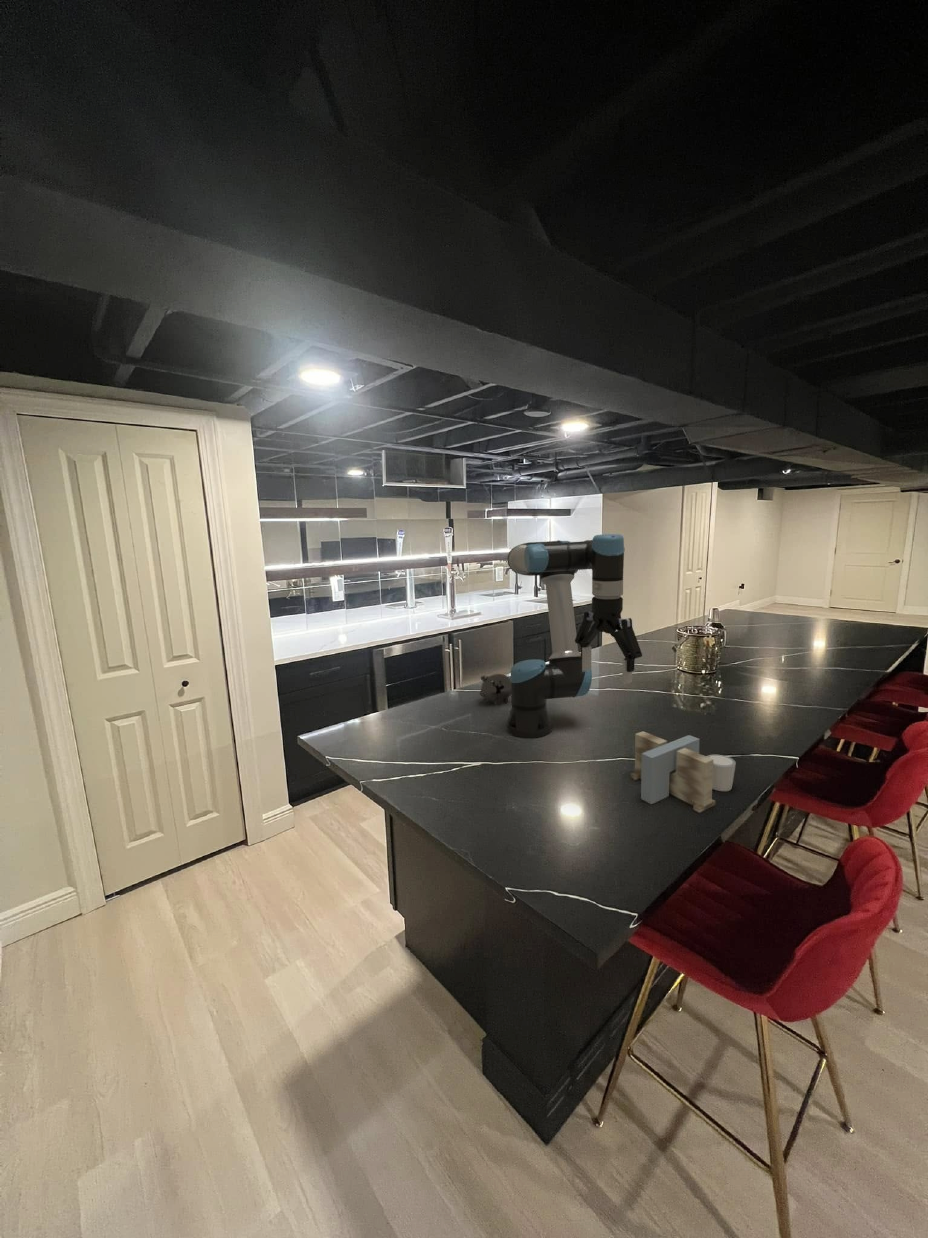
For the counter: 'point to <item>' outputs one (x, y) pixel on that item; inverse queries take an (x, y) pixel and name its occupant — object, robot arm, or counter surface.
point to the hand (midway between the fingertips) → (605, 676)
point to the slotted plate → (662, 767)
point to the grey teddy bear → (496, 688)
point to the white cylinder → (722, 772)
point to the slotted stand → (681, 772)
